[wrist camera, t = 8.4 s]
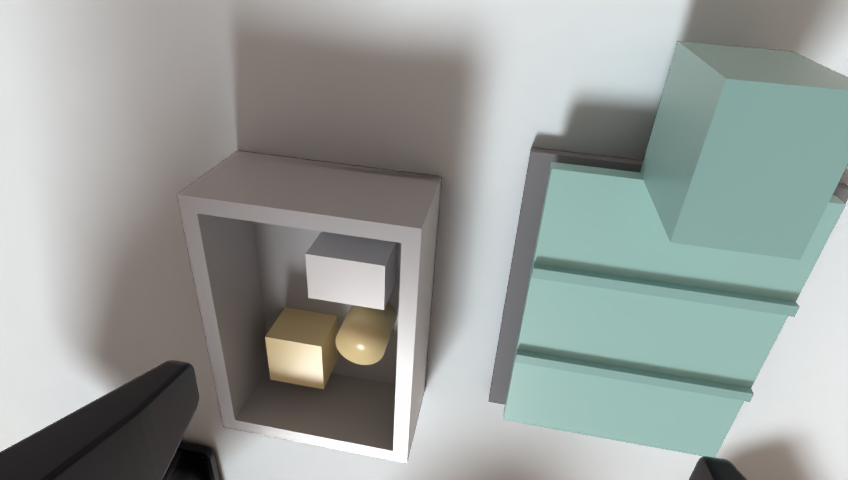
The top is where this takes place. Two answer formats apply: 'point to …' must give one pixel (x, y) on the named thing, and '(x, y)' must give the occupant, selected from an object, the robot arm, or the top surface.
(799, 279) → the lid
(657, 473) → the top surface
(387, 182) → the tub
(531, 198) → the mat
